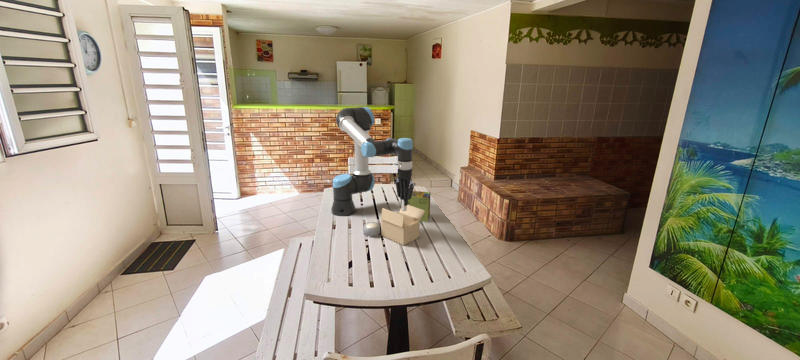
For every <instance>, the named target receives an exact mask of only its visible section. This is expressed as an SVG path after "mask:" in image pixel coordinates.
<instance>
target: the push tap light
mask: <svg viewBox="0 0 800 360" xmlns="http://www.w3.org/2000/svg"><path fill="white" fill-rule="evenodd" d="M379 235H381V224H380V223H379V222H375V221H369V222H366V223H364V224H363V236H365V237H368V236H370V237H368V238H376V237H379ZM375 236H376V237H375Z"/></svg>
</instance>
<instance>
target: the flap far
mask: <svg viewBox="0 0 800 360" xmlns="http://www.w3.org/2000/svg"><path fill="white" fill-rule="evenodd" d="M398 212H399V213H401V214H404V215H407V216H410V217H412V218H415V219H418V220H421V218H422V216H423V214H424V213H425V210H422V209H419V208H416V207H413V206H410V205H407V210H406V211H404V212H403V211H401V208H400V209H399V211H398Z"/></svg>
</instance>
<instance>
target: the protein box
mask: <svg viewBox="0 0 800 360" xmlns="http://www.w3.org/2000/svg"><path fill="white" fill-rule="evenodd" d="M408 205H410V206H413V207H416V208H419V209H422V210H425V213H424V214H423V216H422V218H421V220H420V222H423V221H425V222H426V223H428V222H429V219H430V215H431V192H430V191H419V190H418V191H417V190H413V193H412V197H411V199H409V200H408ZM409 217H410V216H409ZM417 220H418V219H417Z"/></svg>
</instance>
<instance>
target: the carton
mask: <svg viewBox="0 0 800 360" xmlns="http://www.w3.org/2000/svg"><path fill="white" fill-rule="evenodd" d="M396 213H398V214H400V215H403V216H404V221H403V227H400V226H397V225H395V224H392V223H390V222H387V221H385V220H382V219H381V218H380V219H381V220H380V221H381V224H380V235H381V237H383V238H385V239H388V240H390V241H392V242H394V243H396V244H399V245H401V246H406V245H408V244H410V243H411V242H413V241H416V240H417V239H419V238H420V227H421V226H420V225H421V223H420V222H421V221H420V220H417V219H415V218H412V217H409V216H407V215H404V214H402V213H399V211H398V212H396Z"/></svg>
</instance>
